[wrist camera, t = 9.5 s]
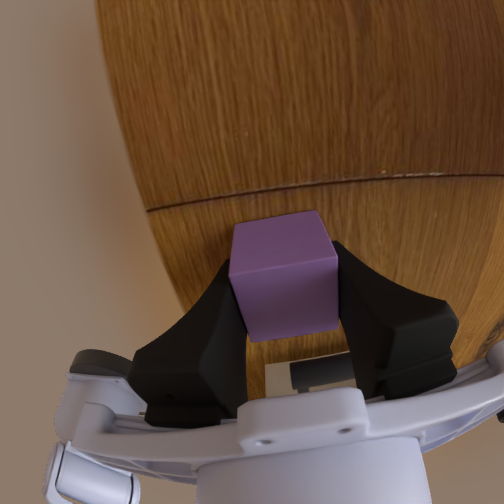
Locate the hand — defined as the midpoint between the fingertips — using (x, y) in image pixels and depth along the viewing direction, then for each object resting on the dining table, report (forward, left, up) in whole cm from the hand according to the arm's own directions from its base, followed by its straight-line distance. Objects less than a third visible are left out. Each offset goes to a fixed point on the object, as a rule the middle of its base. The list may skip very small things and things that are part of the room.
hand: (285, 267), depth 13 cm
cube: (0, 0, -1) cm, 1 cm away
